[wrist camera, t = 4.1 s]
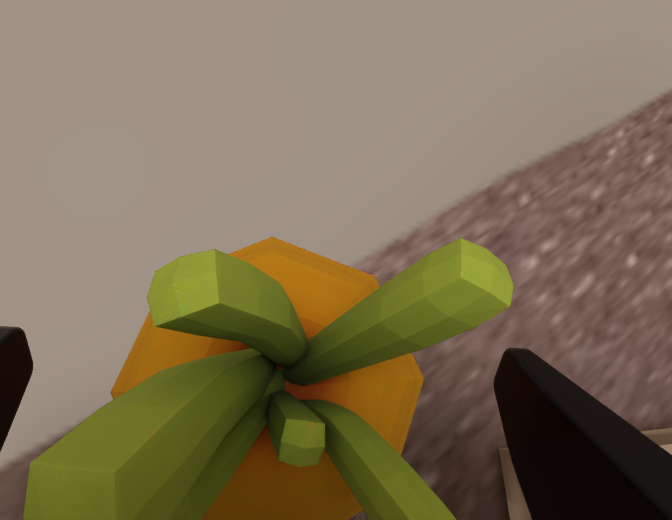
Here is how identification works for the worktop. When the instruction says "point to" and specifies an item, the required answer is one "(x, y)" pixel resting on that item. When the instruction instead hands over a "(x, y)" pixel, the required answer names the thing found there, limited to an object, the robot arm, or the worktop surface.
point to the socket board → (516, 503)
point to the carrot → (269, 391)
